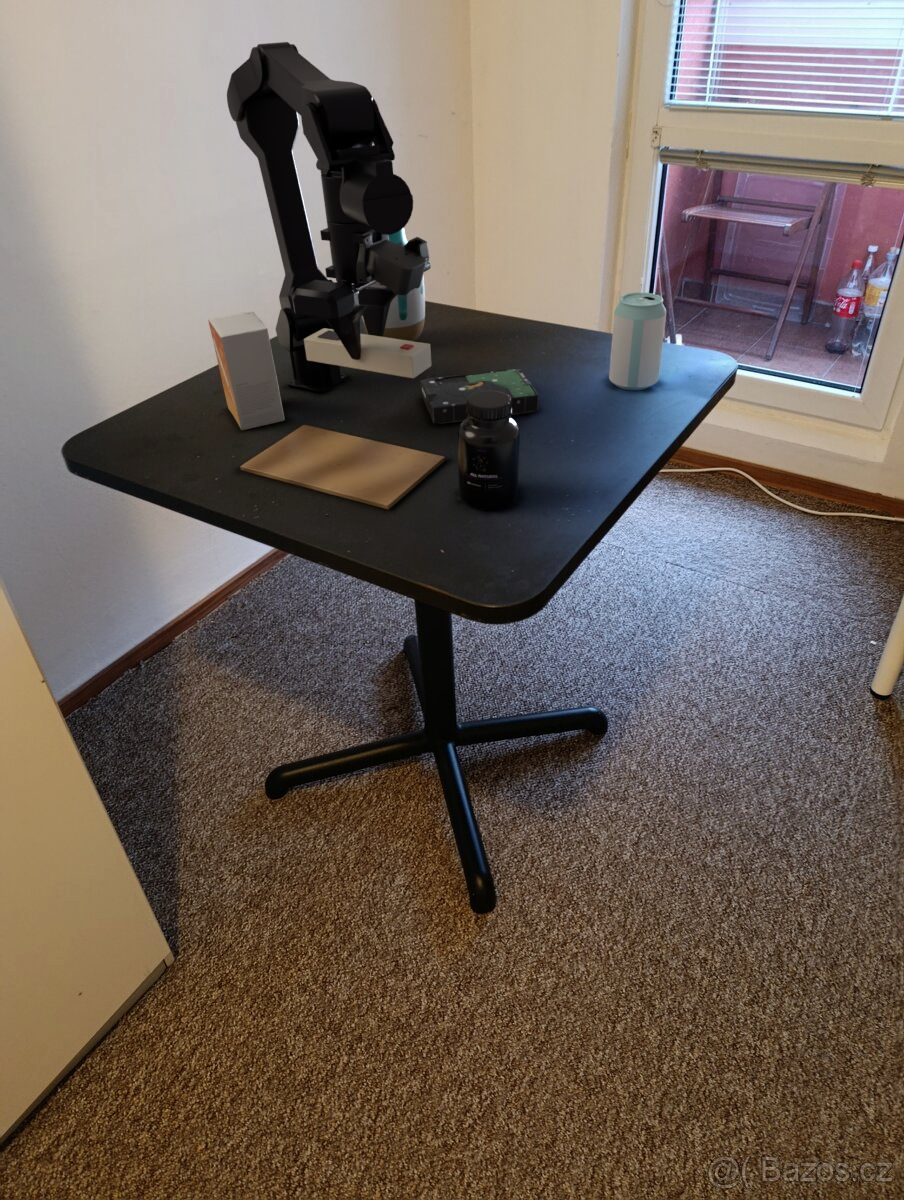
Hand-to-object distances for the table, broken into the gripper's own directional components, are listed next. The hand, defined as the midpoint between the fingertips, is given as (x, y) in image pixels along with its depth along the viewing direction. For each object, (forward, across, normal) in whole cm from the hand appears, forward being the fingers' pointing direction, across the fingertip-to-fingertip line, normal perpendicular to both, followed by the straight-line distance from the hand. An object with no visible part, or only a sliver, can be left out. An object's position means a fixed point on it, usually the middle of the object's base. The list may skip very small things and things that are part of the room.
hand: (366, 352), depth 101 cm
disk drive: (+11, +14, -8) cm, 20 cm away
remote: (+1, 0, 0) cm, 1 cm away
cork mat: (+11, -9, -1) cm, 15 cm away
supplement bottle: (+11, -9, -21) cm, 26 cm away
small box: (+11, -2, +19) cm, 22 cm away
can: (+11, +29, -26) cm, 41 cm away
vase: (+11, +30, +15) cm, 35 cm away
